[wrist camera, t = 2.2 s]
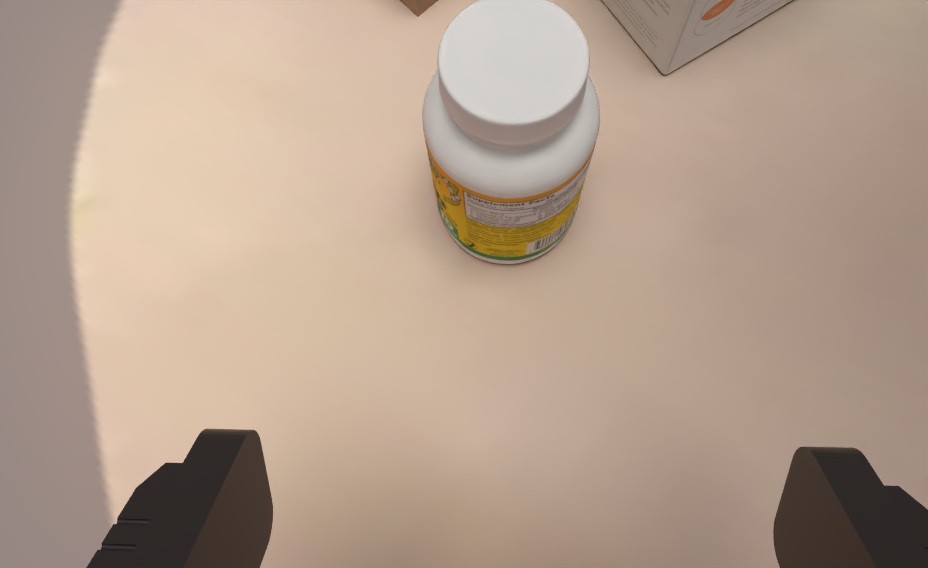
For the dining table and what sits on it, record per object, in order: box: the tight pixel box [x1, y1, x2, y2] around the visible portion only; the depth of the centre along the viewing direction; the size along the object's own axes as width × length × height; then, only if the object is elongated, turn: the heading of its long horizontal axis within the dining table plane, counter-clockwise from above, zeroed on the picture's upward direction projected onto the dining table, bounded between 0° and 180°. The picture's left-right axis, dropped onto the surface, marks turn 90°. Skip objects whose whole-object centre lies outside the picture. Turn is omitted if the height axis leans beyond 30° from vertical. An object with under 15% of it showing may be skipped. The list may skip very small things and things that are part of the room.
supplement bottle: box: [423, 0, 600, 264], centre depth 23 cm, size 5×5×10 cm
